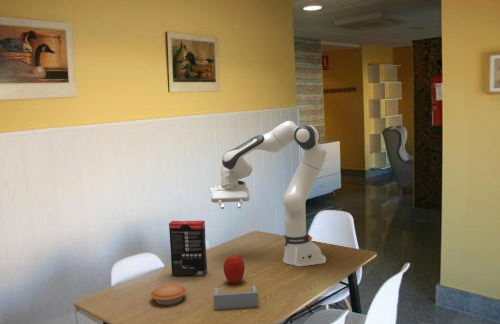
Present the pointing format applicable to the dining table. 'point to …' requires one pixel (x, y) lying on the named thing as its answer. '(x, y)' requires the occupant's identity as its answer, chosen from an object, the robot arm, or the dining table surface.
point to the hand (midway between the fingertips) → (230, 208)
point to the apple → (234, 268)
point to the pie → (168, 294)
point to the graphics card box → (188, 248)
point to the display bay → (236, 299)
